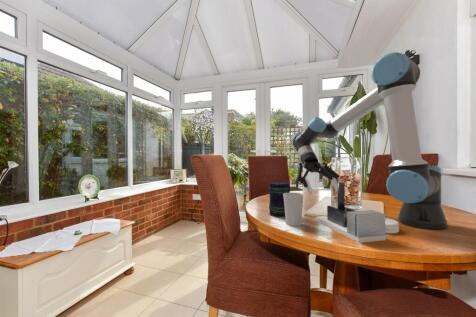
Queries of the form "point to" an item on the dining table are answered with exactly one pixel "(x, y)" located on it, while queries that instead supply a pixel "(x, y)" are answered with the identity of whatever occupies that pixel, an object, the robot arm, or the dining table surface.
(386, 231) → the coaster
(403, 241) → the dining table surface
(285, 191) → the storage jar
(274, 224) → the dining table surface
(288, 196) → the cup
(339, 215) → the sleeve and socket
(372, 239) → the base board
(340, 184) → the dark grey l-shaped bracket
